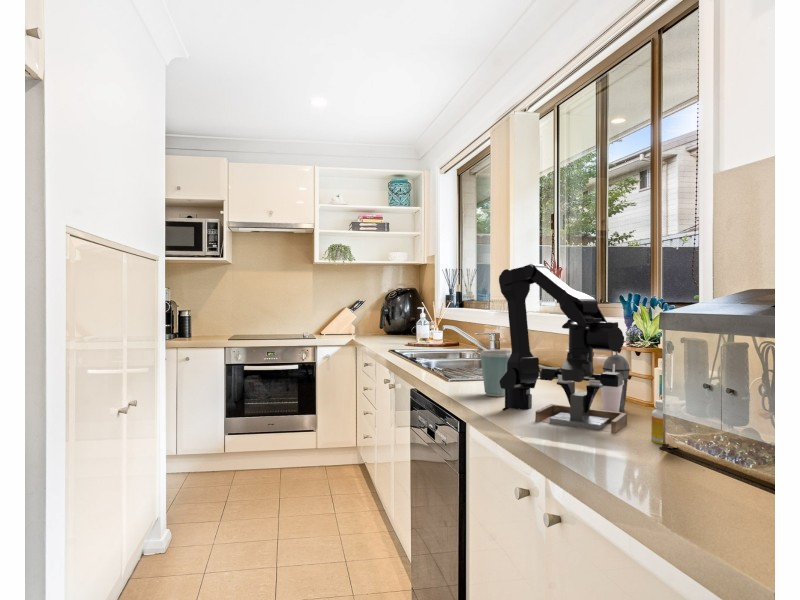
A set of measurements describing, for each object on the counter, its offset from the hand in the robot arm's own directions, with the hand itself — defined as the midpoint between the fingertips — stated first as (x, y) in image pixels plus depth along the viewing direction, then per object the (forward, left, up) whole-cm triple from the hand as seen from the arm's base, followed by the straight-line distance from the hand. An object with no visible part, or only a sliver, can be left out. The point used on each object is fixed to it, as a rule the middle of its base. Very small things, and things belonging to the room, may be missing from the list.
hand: (579, 411), depth 135 cm
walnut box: (0, +1, -4) cm, 4 cm away
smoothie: (+3, +19, -4) cm, 19 cm away
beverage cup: (+2, +29, -4) cm, 29 cm away
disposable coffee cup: (-35, +29, -4) cm, 45 cm away
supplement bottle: (+20, -6, -4) cm, 21 cm away
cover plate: (0, 0, -3) cm, 3 cm away
